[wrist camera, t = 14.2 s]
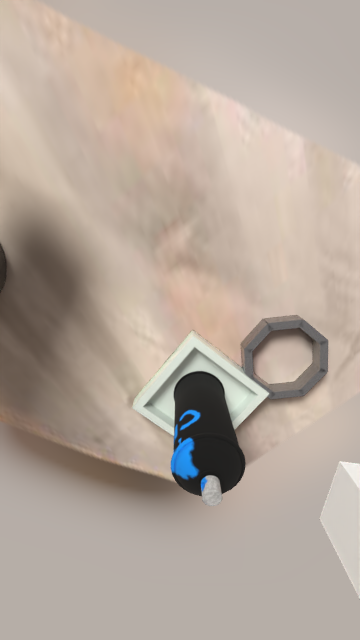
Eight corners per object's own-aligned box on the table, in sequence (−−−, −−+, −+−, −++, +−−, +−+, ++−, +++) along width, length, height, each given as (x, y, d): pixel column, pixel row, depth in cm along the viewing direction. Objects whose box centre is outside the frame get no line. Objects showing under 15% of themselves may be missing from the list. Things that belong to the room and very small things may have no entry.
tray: (134, 397, 49) (132, 407, 46) (192, 329, 46) (193, 335, 43) (204, 446, 52) (206, 458, 49) (264, 384, 48) (269, 393, 46)
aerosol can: (231, 378, 47) (267, 474, 28) (215, 421, 49) (238, 539, 30) (181, 364, 47) (183, 453, 27) (167, 409, 49) (159, 521, 29)
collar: (225, 360, 47) (227, 367, 45) (279, 300, 45) (285, 304, 42) (281, 403, 49) (287, 412, 47) (336, 348, 47) (345, 354, 44)
